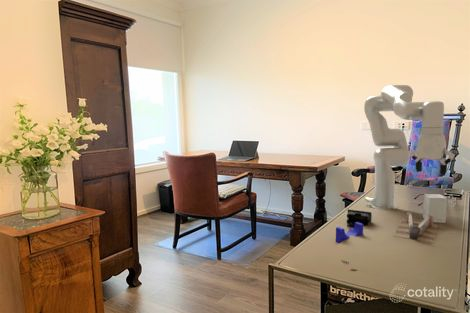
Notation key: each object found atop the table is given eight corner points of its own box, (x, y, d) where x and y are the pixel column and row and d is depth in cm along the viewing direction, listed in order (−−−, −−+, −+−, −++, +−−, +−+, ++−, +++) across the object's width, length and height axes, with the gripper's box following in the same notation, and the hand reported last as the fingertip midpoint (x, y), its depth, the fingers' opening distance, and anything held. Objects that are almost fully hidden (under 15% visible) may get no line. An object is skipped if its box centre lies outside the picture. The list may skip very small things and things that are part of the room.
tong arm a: (412, 234, 135) (412, 226, 134) (407, 234, 135) (407, 225, 135) (411, 220, 151) (411, 212, 151) (406, 219, 152) (407, 212, 152)
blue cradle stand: (354, 234, 142) (354, 221, 141) (362, 238, 138) (363, 224, 137) (333, 240, 136) (333, 226, 135) (341, 244, 132) (341, 229, 132)
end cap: (371, 225, 153) (371, 210, 152) (369, 230, 147) (369, 215, 146) (348, 221, 158) (349, 207, 157) (345, 226, 152) (345, 212, 151)
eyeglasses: (458, 209, 174) (459, 200, 173) (417, 206, 180) (418, 197, 179) (450, 201, 189) (451, 192, 188) (413, 199, 195) (413, 190, 194)
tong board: (433, 247, 127) (434, 230, 126) (393, 239, 135) (393, 224, 134) (437, 228, 147) (438, 213, 146) (402, 222, 155) (403, 208, 154)
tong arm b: (421, 236, 133) (421, 228, 132) (416, 235, 134) (416, 227, 133) (432, 223, 147) (433, 216, 146) (428, 222, 148) (428, 215, 147)
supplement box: (445, 225, 149) (447, 198, 148) (427, 225, 151) (429, 197, 149) (439, 220, 157) (441, 194, 155) (422, 219, 158) (423, 193, 156)
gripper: (406, 131, 144) (405, 171, 145) (450, 132, 129) (448, 176, 131) (416, 131, 148) (414, 169, 150) (459, 131, 133) (457, 174, 135)
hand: (430, 172), depth 140 cm, fingers open, 9 cm apart
